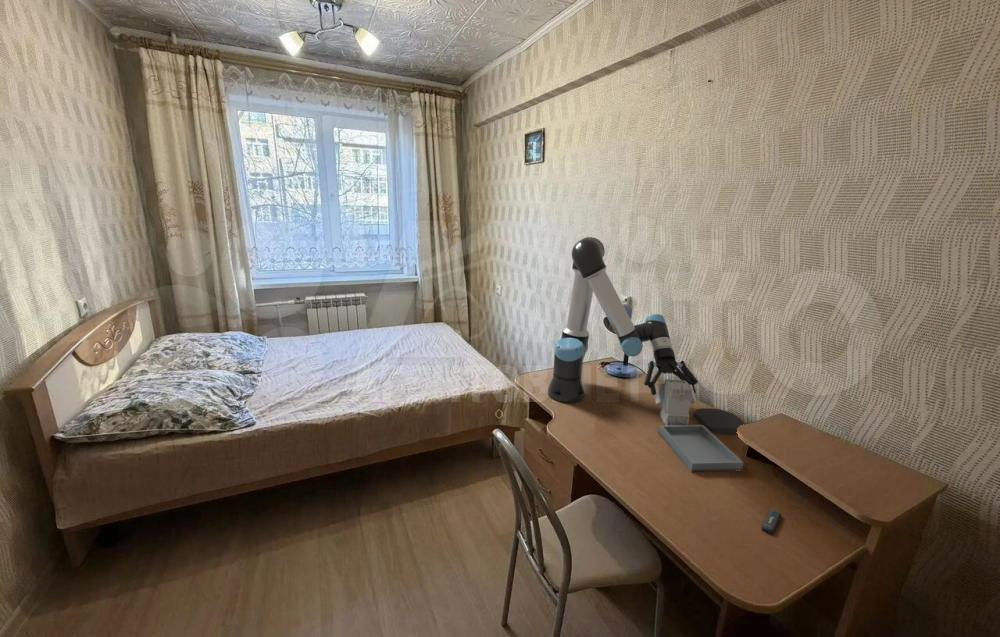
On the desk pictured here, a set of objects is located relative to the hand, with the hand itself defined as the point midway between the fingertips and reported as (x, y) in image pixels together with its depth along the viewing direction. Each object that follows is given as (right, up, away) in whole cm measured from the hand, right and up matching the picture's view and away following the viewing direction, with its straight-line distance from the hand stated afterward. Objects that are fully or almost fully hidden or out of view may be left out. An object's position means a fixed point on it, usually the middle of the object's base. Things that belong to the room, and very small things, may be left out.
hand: (676, 402), depth 150 cm
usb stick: (+3, -21, -48) cm, 52 cm away
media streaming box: (+16, -8, +1) cm, 18 cm away
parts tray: (-1, -12, -17) cm, 21 cm away
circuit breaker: (0, -7, +4) cm, 8 cm away
